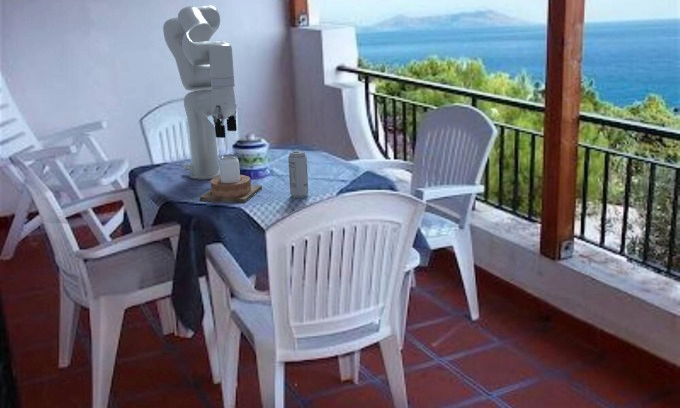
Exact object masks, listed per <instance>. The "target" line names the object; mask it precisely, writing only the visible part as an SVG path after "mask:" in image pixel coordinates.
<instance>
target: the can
mask: <svg viewBox="0 0 680 408" xmlns="http://www.w3.org/2000/svg"><path fill="white" fill-rule="evenodd" d="M219 158H220V159H219V160H218V165H219V169H220V176H221V183H235V182H239V181H240V175H241V174H240V173H241V172H240V162H239V161H240V160H239V159H238V155H235V154H225V155H224V154H223V155H221V156H220V157H219Z"/></svg>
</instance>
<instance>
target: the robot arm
mask: <svg viewBox="0 0 680 408" xmlns="http://www.w3.org/2000/svg"><path fill="white" fill-rule="evenodd" d="M220 25H221V16H220V13H219V11H218V9H217V8H216V7H215V6H213V5H210V4H209V5H191V6H190V5H189V6H185V7H183V8H181V9H180V10H179V11H178V14H177V17H173V18H169V19H167V20H166V21H165V22H164V23H163V25H162V27H163V28H162V31H163V37H164V40H165V43H166V46H167V47H168V49H169V51H170V52H171V54H172V56H173V57H174V59H175V63H176V66H177V69H178V70H177V71H178V73H179V77H180V81H181V83H182V86H183V87H184V89H185V90H187V91H188V93H187V94H186V95H185V96H184V98H183V106H184V111H185V113H186V114H185V115H186V118H187V119H186V120H187V123H188V131H189V132H188V134H189V143H190V153H191V156H190V157H191V164H189V163H184V164H183V165H182V167H183V170H184V171H189V173H188V177H189V178H190V179H193V180H203V181H205V180H212V179H213V178H216V177H219V176H220V165H219V156H218V145H217V144H218V143H217V139H218V138H219V139H220V138H221V139H224V138H226V130H227V132H236V131H237V129H238V128H237V115H236V114H237V104H236V96H235V76H234V75H235V72H234V59H233V58H234V57H233V47H232V45H231V44H230V43H228V42H226V41H225V40H211V38H212V37H213V36H214V34H215V33H216V31H217V30H218V29H219V27H220ZM189 91H190V92H189ZM208 117H211V118H212V119H213V122H211V121H210V120H209V119H208ZM225 119H226V126H225V125H224V124H225Z"/></svg>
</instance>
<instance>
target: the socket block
mask: <svg viewBox="0 0 680 408" xmlns="http://www.w3.org/2000/svg"><path fill="white" fill-rule="evenodd" d="M251 183H252V180H251V178H250V176H249V175H248V176H247V175H244V174H240V181H239V182H235V183H221V176H219V177H216V178H213V179H210V189H209V190H208V191H206V192H205V193H203V194H202V195H200V196H199V201H201V202H202V201H203V202H204V201H205V202H225V203H226V202H227V203H244V202H245V203H246V201H247V200H248V199H249V198H250V199H251V198H253V197H254V196H255V195H256V194H257V192H258V191H259V190H260V191H262V190H263V186H262V185H258V184H255V185H253V184H251ZM260 191H259V192H260ZM259 192H258V193H259ZM255 193H256V194H255ZM254 194H255V195H254ZM253 195H254V196H253ZM252 196H253V197H252ZM250 199H249V200H250ZM249 200H248V201H249ZM248 201H247V202H248Z"/></svg>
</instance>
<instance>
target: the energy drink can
mask: <svg viewBox="0 0 680 408" xmlns="http://www.w3.org/2000/svg"><path fill="white" fill-rule="evenodd" d="M287 159H288V175H289V176H288V178H289V194H290V195H291V197H292V198H294V199H303V198H306V197H307V196H308V194H309V180H308V179H309V178H308V157H307V155H306V152H305V150H292V151H290V152H289V154H288V158H287Z"/></svg>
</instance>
